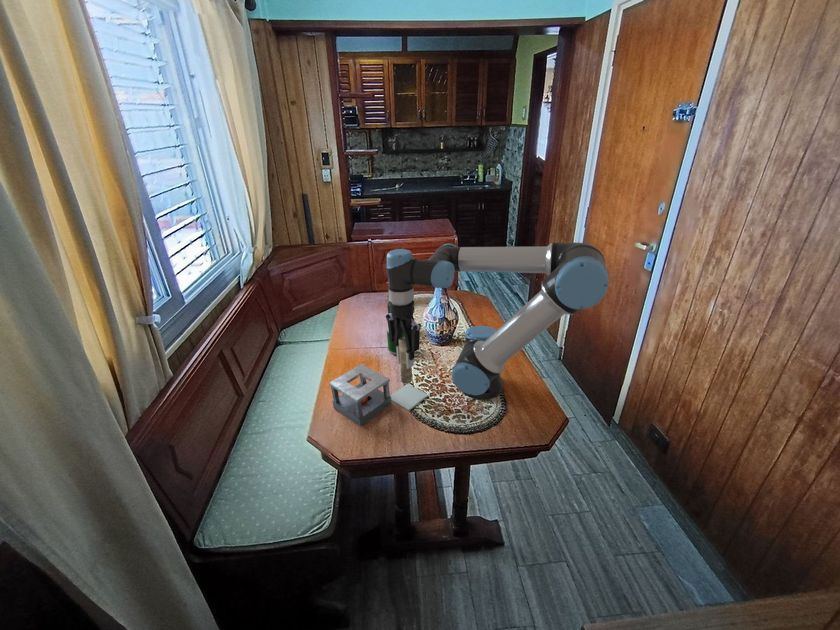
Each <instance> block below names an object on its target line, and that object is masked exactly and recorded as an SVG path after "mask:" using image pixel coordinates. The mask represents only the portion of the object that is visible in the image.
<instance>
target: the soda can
mask: <svg viewBox="0 0 840 630" xmlns="http://www.w3.org/2000/svg"><path fill="white" fill-rule="evenodd" d="M402 337H405V335H404V333H402ZM386 339H387V348H388V352H389V353H391V354H392V355H395V356H397V353H396V350H395V345H394V343H393V342H390V337H389V329H388V326H387V327H386Z"/></svg>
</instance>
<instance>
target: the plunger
mask: <svg viewBox="0 0 840 630" xmlns="http://www.w3.org/2000/svg"><path fill="white" fill-rule="evenodd" d="M367 401H368V396H367V397H365V398H364V399H362V400H361V405H363V404H364V403H366V402H367Z"/></svg>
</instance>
